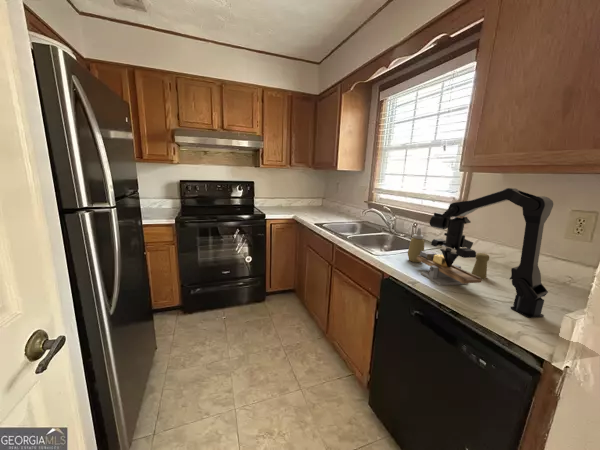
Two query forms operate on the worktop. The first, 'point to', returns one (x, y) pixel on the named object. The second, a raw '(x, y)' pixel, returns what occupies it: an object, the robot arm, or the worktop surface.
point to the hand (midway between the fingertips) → (448, 266)
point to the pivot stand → (440, 277)
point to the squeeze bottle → (416, 246)
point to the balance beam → (453, 272)
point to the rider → (440, 260)
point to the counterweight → (427, 255)
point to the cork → (481, 265)
